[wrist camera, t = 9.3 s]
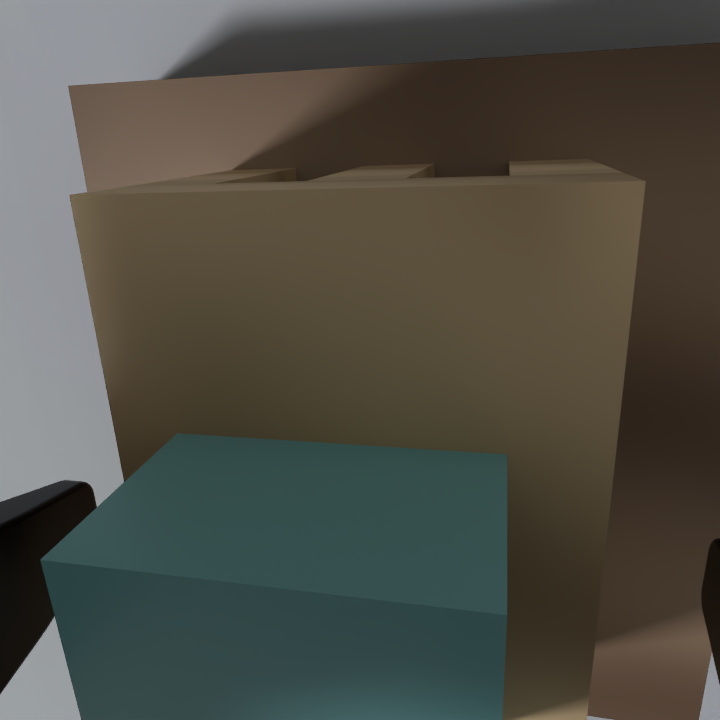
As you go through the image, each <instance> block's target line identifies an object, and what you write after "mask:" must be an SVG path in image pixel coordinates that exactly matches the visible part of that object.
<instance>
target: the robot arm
mask: <svg viewBox="0 0 720 720" xmlns="http://www.w3.org/2000/svg"><path fill="white" fill-rule="evenodd" d="M96 508H97V506H96V501H95V497H94V492H93V489H92V487H91V486H90V485H89V484H88V483H86V482H81V481H70V480H63V481H59V482H56V483H54V484H51V485H48V486H45V487H42V488H39V489H36V490H34V491H31V492H28V493H25V494H22V495H19V496H16V497H13V498H11V499H8V500H5V501H2V502H0V694H1V692H2V691H3V690H4V688H5V687H6V685H7V684H8V683H9V681H10V680H11V678H12V677H13V676H14V674H15V673H16V671H17V670H18V669H19V667H20V666H21V664H22V663H23V662H24V660H25V659H26V657H27V656H28V655H29V653H30V652H31V650H32V649H33V648H34V646H35V645H36V643H37V642H38V641H39V639H40V638H41V636H42V635H43V633H44V632H45V630H46V629H47V627H48V626H49V624H50V623H51V621H52V619H53V618H54V616H55V615H54V611H53V607H52V604H51V600H50V596H49V592H48V588H47V584H46V580H45V576H44V572H43V569H42V565H41V561H40V560H41V559H42V558H43V557H44V556H45V555H46V554H47V553H48V552H49V551H50V550H52V549H53V548H54V547H55V546H56V545H57V544H58V543H59V542H60V541H61V540H62V539H63V538H64V537H66V536H67V535H68V534H69V533H70V532H71V531H72V530H73V529H74V528H75V527H76V526H77V525H79V524H80V523H81V522H82V521H83V520H84V519H85V518H86V517H87V516H88V515H89V514H90V513H91V512H93V511H94V510H95V509H96ZM701 604H702V611H703V615H704V619H705V624H706V628H707V632H708V636H709V641H710V645H711V649H712V653H713V658H714V662H715V666H716V671H717V675H718V679H719V683H720V538H716V539H714V540H713V541H712V542H711V544H710V546H709V550H708V556H707V562H706V567H705V573H704V578H703V584H702V590H701Z"/></svg>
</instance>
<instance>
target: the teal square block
mask: <svg viewBox="0 0 720 720" xmlns="http://www.w3.org/2000/svg"><path fill="white" fill-rule="evenodd" d="M40 561H41V565H42V569H43V572H44V576H45V580H46V584H47V588H48V592H49V596H50V600H51V604H52V607H53V611H54V615H55V619H56V623H57V627H58V631H59V635H60V638H61V642H62V646H63V650H64V654H65V658H66V662H67V666H68V670H69V673H70V677H71V681H72V685H73V689H74V693H75V697H76V701H77V705H78V708H79V712H80V716H81V720H502V718H503V696H504V674H505V652H506V630H507V454H492V453H476V452H461V451H445V450H430V449H414V448H398V447H383V446H367V445H352V444H336V443H321V442H305V441H290V440H274V439H258V438H243V437H227V436H212V435H196V434H181V433H177V434H176V435H175V436H174V437H173V438H171V439H170V440H169V441H168V442H167V443H166V444H165V445H164V446H163V447H162V448H161V449H160V450H158V451H157V452H156V453H155V454H154V455H153V456H152V457H151V458H150V459H149V460H148V461H147V462H146V463H144V464H143V465H142V466H141V467H140V468H139V469H138V470H137V471H136V472H135V473H134V474H133V475H131V476H130V477H129V478H128V479H127V480H126V481H125V482H124V483H123V484H122V485H121V486H120V487H119V488H117V489H116V490H115V491H114V492H113V493H112V494H111V495H110V496H109V497H108V498H107V499H106V500H104V501H103V502H102V503H101V504H100V505H99V506H98V507H97V508H96V509H95V510H94V511H93V512H91V513H90V514H89V515H88V516H87V517H86V518H85V519H84V520H83V521H82V522H81V523H80V524H79V525H77V526H76V527H75V528H74V529H73V530H72V531H71V532H70V533H69V534H68V535H67V536H66V537H64V538H63V539H62V540H61V541H60V542H59V543H58V544H57V545H56V546H55V547H54V548H53V549H52V550H50V551H49V552H48V553H47V554H46V555H45V556H44V557H43V558H42V559H41V560H40Z"/></svg>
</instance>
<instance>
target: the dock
mask: <svg viewBox="0 0 720 720" xmlns="http://www.w3.org/2000/svg"><path fill="white" fill-rule="evenodd" d="M68 87H69V93H70V98H71V104H72V109H73V115H74V120H75V126H76V131H77V137H78V142H79V148H80V154H81V159H82V165H83V170H84V176H85V181H86V187H87V192H92V191H99V190H105V189H112V188H118V187H125V186H131V185H138V184H144V183H151V182H157V181H164V180H170V179H177V178H183V177H190V176H196V175H203V174H209V173H216V172H223V171H229V170H252V169H283V168H296V177H297V181H309V180H313V179H316V178H320V177H324V176H328V175H331V174H335V173H339V172H343V171H346V170H350V169H354V168H358V167H361V166H378V165H409V164H435V178H441V177H478V176H509V161H535V160H567V159H590V160H592V161H595V162H597V163H600V164H602V165H605V166H608V167H610V168H613V169H615V170H618V171H621V172H623V173H626V174H628V175H631V176H634V177H636V178H639V179H641V180H644V181H646V183H645V192H644V202H643V211H642V220H641V229H640V238H639V247H638V256H637V266H636V275H635V284H634V293H633V302H632V311H631V321H630V330H629V339H628V348H627V357H626V366H625V375H624V385H623V394H622V403H621V412H620V421H619V430H618V439H617V449H616V458H615V467H614V476H613V485H612V494H611V503H610V513H609V522H608V531H607V540H606V549H605V558H604V567H603V577H602V586H601V595H600V604H599V613H598V622H597V631H596V641H595V650H594V659H593V668H592V677H591V686H590V695H589V705H588V714H587V716H594V717H601V718H607V719H614V720H699V715H700V710H701V705H702V699H703V694H704V689H705V684H706V678H707V673H708V668H709V663H710V657H711V652H712V649H711V645H710V641H709V636H708V632H707V628H706V624H705V619H704V615H703V611H702V604H701V590H702V584H703V578H704V573H705V567H706V562H707V556H708V550H709V546H710V544H711V542H712V541H713V540H714V539H716V538H720V43H706V44H691V45H676V46H661V47H646V48H631V49H616V50H601V51H586V52H571V53H555V54H540V55H525V56H510V57H495V58H480V59H465V60H450V61H435V62H420V63H405V64H390V65H375V66H359V67H344V68H329V69H314V70H299V71H284V72H269V73H254V74H239V75H224V76H209V77H194V78H179V79H163V80H148V81H133V82H118V83H103V84H88V85H73V86H68Z"/></svg>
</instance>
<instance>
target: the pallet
mask: <svg viewBox="0 0 720 720" xmlns="http://www.w3.org/2000/svg"><path fill="white" fill-rule="evenodd" d="M645 183H646V181H644V180H641V179H639V178H636V177H634V176H631V175H628V174H626V173H623V172H621V171H618V170H615V169H613V168H610V167H608V166H605V165H602V164H600V163H597V162H595V161H592V160H590V159H567V160H535V161H509V176H478V177H441V178H435V164H409V165H378V166H361V167H358V168H354V169H350V170H346V171H343V172H339V173H335V174H331V175H328V176H324V177H320V178H316V179H313V180H309V181H297V177H296V168H283V169H252V170H229V171H223V172H216V173H209V174H203V175H196V176H190V177H183V178H177V179H170V180H164V181H157V182H151V183H144V184H138V185H131V186H125V187H118V188H112V189H105V190H99V191H92V192H86V193H79V194H73V195H70V201H71V206H72V211H73V216H74V222H75V227H76V232H77V237H78V242H79V248H80V253H81V258H82V263H83V269H84V274H85V279H86V284H87V290H88V295H89V300H90V305H91V310H92V316H93V321H94V326H95V331H96V337H97V342H98V347H99V352H100V358H101V363H102V368H103V373H104V378H105V384H106V389H107V394H108V399H109V405H110V410H111V415H112V420H113V426H114V431H115V436H116V441H117V446H118V452H119V457H120V462H121V467H122V473H123V478H124V482H125V481H126V480H127V479H128V478H129V477H130V476H131V475H133V474H134V473H135V472H136V471H137V470H138V469H139V468H140V467H141V466H142V465H143V464H144V463H146V462H147V461H148V460H149V459H150V458H151V457H152V456H153V455H154V454H155V453H156V452H157V451H158V450H160V449H161V448H162V447H163V446H164V445H165V444H166V443H167V442H168V441H169V440H170V439H171V438H173V437H174V436H175V435H176V434H177V433H181V434H196V435H212V436H227V437H243V438H258V439H274V440H290V441H305V442H321V443H336V444H352V445H367V446H383V447H398V448H414V449H430V450H445V451H461V452H476V453H492V454H507V630H506V652H505V674H504V696H503V718H502V720H587V714H588V705H589V695H590V686H591V677H592V668H593V659H594V650H595V641H596V631H597V622H598V613H599V604H600V595H601V586H602V577H603V567H604V558H605V549H606V540H607V531H608V522H609V513H610V503H611V494H612V485H613V476H614V467H615V458H616V449H617V439H618V430H619V421H620V412H621V403H622V394H623V385H624V375H625V366H626V357H627V348H628V339H629V330H630V321H631V311H632V302H633V293H634V284H635V275H636V266H637V256H638V247H639V238H640V229H641V220H642V211H643V202H644V192H645Z"/></svg>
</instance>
